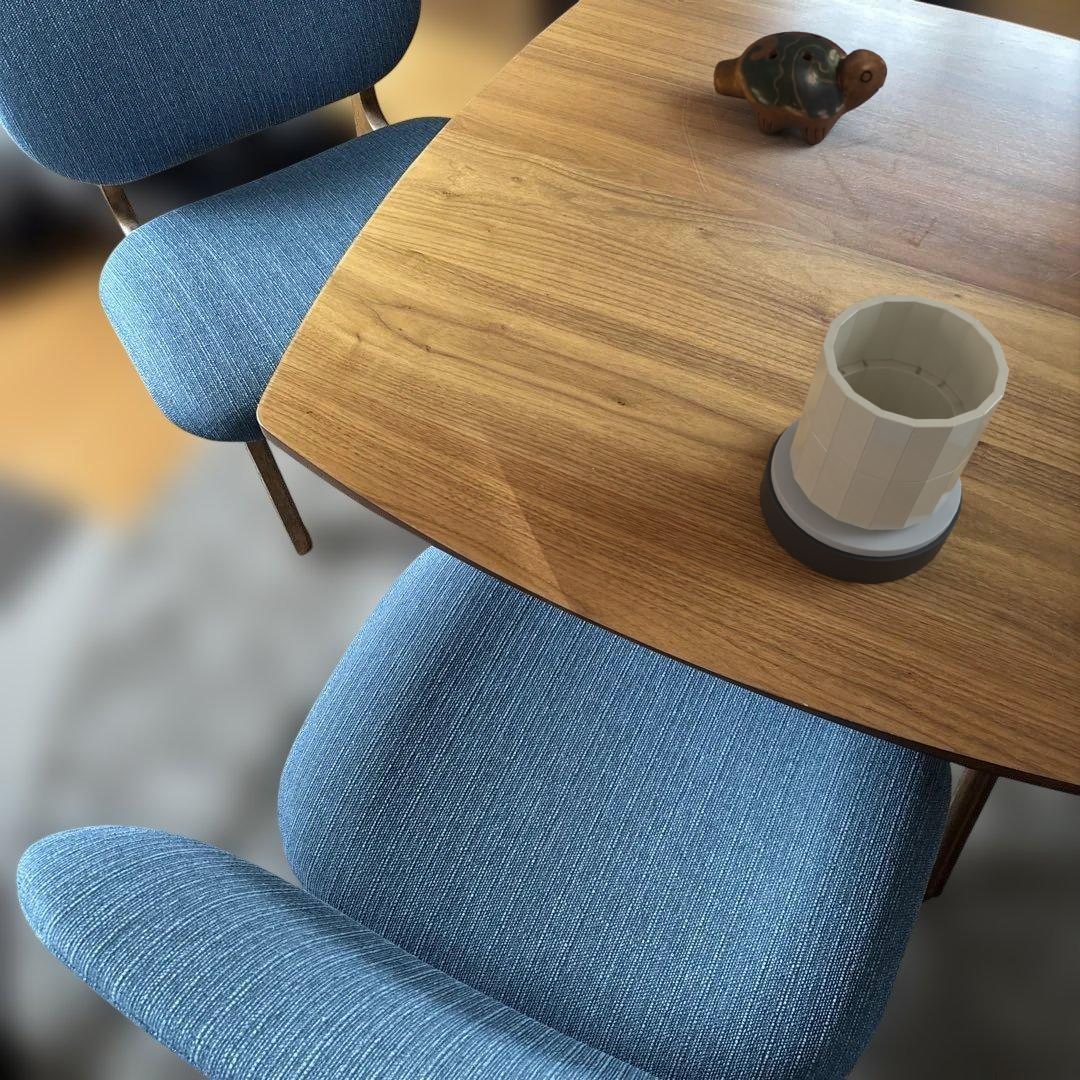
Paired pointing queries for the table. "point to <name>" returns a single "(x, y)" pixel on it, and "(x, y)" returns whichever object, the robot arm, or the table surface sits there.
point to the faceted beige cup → (895, 410)
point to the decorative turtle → (800, 81)
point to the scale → (845, 529)
